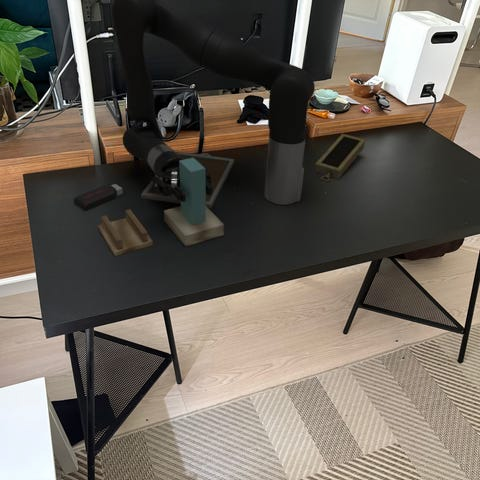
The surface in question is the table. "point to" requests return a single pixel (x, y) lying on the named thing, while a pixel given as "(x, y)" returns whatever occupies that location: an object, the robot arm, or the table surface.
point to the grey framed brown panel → (216, 168)
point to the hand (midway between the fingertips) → (197, 194)
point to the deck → (193, 227)
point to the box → (339, 156)
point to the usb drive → (97, 196)
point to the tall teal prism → (193, 190)
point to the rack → (124, 234)
